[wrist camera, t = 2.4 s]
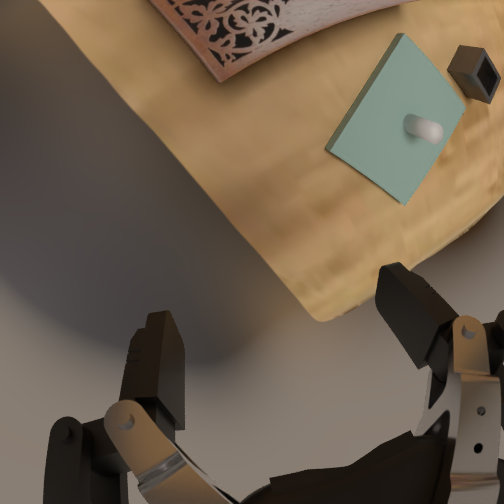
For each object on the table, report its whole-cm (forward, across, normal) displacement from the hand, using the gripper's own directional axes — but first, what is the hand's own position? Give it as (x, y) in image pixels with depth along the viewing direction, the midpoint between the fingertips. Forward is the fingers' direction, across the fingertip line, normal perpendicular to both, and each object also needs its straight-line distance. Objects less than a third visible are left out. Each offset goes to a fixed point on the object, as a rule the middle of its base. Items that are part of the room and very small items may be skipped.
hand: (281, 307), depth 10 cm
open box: (+21, -36, -14) cm, 44 cm away
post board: (+22, -23, -5) cm, 32 cm away
